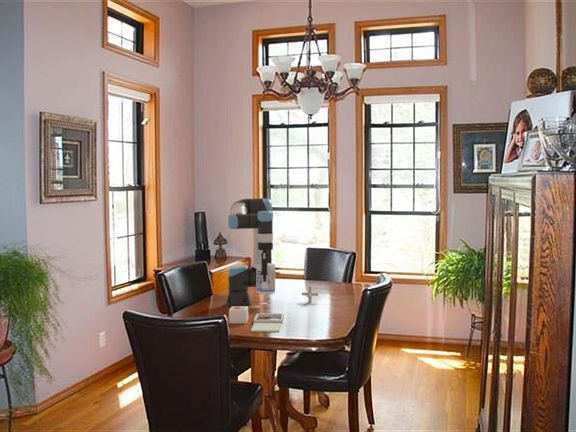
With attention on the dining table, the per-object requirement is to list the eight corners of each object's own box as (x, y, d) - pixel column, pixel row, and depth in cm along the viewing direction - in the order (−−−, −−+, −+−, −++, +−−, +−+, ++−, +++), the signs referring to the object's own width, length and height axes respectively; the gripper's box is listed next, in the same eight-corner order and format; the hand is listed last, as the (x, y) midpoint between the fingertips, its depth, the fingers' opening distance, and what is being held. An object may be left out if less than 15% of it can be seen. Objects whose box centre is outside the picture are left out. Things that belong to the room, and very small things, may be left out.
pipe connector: (316, 304, 343) (316, 287, 342) (300, 303, 345) (300, 287, 344) (319, 300, 353) (319, 284, 352) (303, 300, 355) (303, 284, 354)
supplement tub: (255, 295, 284) (255, 265, 283) (256, 291, 293) (256, 262, 292) (275, 294, 284) (274, 265, 283) (275, 291, 293) (275, 262, 292)
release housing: (231, 319, 309) (231, 306, 309) (248, 319, 309) (248, 306, 308) (229, 323, 300) (228, 310, 300) (246, 323, 300) (246, 310, 299)
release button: (235, 315, 307) (235, 306, 306) (243, 315, 306) (243, 306, 306) (233, 317, 302) (233, 308, 302) (242, 317, 302) (242, 308, 301)
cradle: (256, 317, 313) (256, 313, 313) (284, 317, 312) (284, 313, 312) (253, 323, 298) (253, 320, 298) (282, 324, 298) (282, 320, 297)
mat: (254, 324, 297) (254, 323, 297) (281, 324, 296) (281, 323, 296) (250, 331, 283) (250, 330, 283) (279, 332, 282) (279, 330, 282)
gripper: (260, 239, 298) (260, 282, 299) (255, 244, 276) (255, 290, 277) (274, 239, 297) (275, 282, 299) (270, 244, 275) (271, 290, 277)
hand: (265, 286), depth 288 cm, fingers closed on supplement tub, 9 cm apart
